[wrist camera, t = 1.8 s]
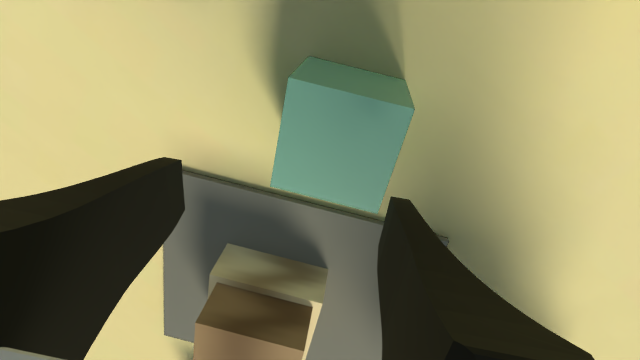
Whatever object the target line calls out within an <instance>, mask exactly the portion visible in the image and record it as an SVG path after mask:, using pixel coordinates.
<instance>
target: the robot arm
mask: <svg viewBox="0 0 640 360" xmlns="http://www.w3.org/2000/svg"><path fill="white" fill-rule="evenodd" d="M184 211H185V201H184V188H183V175H182V162H181V160H177V159H172V158H166V157H163V158H158V159H154V160H151V161H148V162H144V163H141V164H138V165H135V166H132V167H129V168H126V169H123V170H120V171H117V172H114V173H111V174H109V175H105V176H102V177H99V178H96V179H92V180H89V181H86V182H82V183H79V184H76V185H72V186H69V187H65V188H61V189H57V190H53V191H48V192H44V193H40V194H35V195H30V196H25V197H19V198H13V199H7V200H2V201H0V360H84V358H85V356H86V354H87V352H88V351H89V349H90V347H91V345H92V344H93V342H94V340H95V339H96V337H97V335H98V334H99V332H100V330H101V329H102V327H103V325H104V324H105V322H106V320H107V319H108V317H109V316H110V314H111V313H112V311H113V309H114V308H115V306H116V305H117V303H118V302H119V300H120V299H121V297H122V296H123V294H124V293H125V291H126V290H127V288H128V287H129V286H130V284H131V283H132V282H133V280H134V279H135V278H136V277H137V276H138V274H139V273H140V272H141V271H142V269H143V268H144V267H145V266H146V264H147V263H148V262H149V261H150V260H151V258H152V257H153V256H154V255H155V253H156V252H157V251H158V250H159V248H160V247H161V246H162V245H163V243H164V242H165V241H166V240H167V238H168V237H169V236H170V234H171V233H172V232H173V230H174V228H175V227H176V225H177V223H178V222H179V220H180V218H181V216H182V215H183V213H184ZM377 277H378V291H379V303H380V315H381V327H382V360H594V358H593V357H592V355H591V354H589V353H588V352H586V351H584V350H582V349H581V348H579V347H577V346H575V345H574V344H572V343H570V342H569V341H567V340H565V339H563V338H562V337H560V336H558V335H556V334H555V333H553V332H551V331H550V330H548V329H546V328H545V327H543V326H542V325H540V324H539V323H537V322H536V321H534V320H533V319H531V318H530V317H528V316H527V315H525V314H524V313H522V312H521V311H519V310H518V309H516V308H515V307H514V306H512V305H511V304H509V303H508V302H507V301H505V300H504V299H503V298H501V297H500V296H499V295H498V294H496V293H495V292H494V291H493V290H491V289H490V288H489V287H487V286H486V285H485V284H484V283H483V282H482V281H480V280H479V279H478V278H477V277H476V276H475V275H474V274H473V273H471V272H470V271H469V270H468V269H467V268H466V267H465V266H464V265H463V264H462V263H461V262H460V261H459V260H458V259H457V258H456V257H455V256H454V255H453V254H452V253H451V252H450V251H449V249H448V248H447V247H446V246H445V245H444V244H443V243H442V242H441V240H440V239H439V238H438V237H437V236H436V234H435V233H434V232H433V231H432V229H431V228H430V227H429V226H428V224H427V223H426V222H425V220H424V219H423V218H422V216H421V215H420V214H419V212H418V211H417V209H416V208H415V207H414V205H413V204H412V203H411V201H410V200H408V199H402V198H396V197H391V198H390V202H389V206H388V210H387V214H386V217H385V221H384V225H383V229H382V233H381V237H380V241H379V244H378V260H377Z"/></svg>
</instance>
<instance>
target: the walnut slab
mask: <svg viewBox="0 0 640 360" xmlns="http://www.w3.org/2000/svg"><path fill="white" fill-rule="evenodd" d="M312 309H313V307H310V306H306V305H302V304H298V303H295V302H291V301H287V300H283V299H279V298H275V297H272V296H268V295H264V294H260V293H256V292H252V291H249V290H245V289H241V288H237V287H233V286H229V285H226V284H222V283H218V282H217V283H216V285H215V287H214V289H213V291H212V293H211V294H210V296H209V298H208V300H207V302H206V304H205V306H204V307H203V309H202V311H201V313H200V315H199V317H198V318H197V320H196V322H195V336H194V354H193V360H302V357H303V354H304V350H305V345H306V340H307V335H308V330H309V325H310V320H311V314H312Z"/></svg>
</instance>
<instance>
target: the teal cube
mask: <svg viewBox="0 0 640 360" xmlns="http://www.w3.org/2000/svg"><path fill="white" fill-rule="evenodd" d="M414 110H415V108H414V105H413V102H412V99H411V96H410V93H409V90H408V87H407V84H406V81H405V80H403V79H399V78H395V77H391V76H387V75H383V74H379V73H375V72H371V71H367V70H363V69H359V68H355V67H351V66H347V65H343V64H339V63H335V62H331V61H327V60H323V59H319V58H315V57H311V56H309V57H308V58H307V59H306V60H305V61H304V62H303V63H302V64H301V65H300V66H299V67H298V68H297V69H296V70H295V71H294V72H293V73H292V74H291V75H290V76H289V77H288V83H287V89H286V95H285V101H284V107H283V113H282V119H281V125H280V131H279V137H278V143H277V148H276V154H275V160H274V166H273V172H272V178H271V184H270V187H274V188H278V189H282V190H286V191H290V192H294V193H298V194H302V195H306V196H309V197H313V198H317V199H321V200H325V201H329V202H333V203H337V204H341V205H345V206H348V207H352V208H356V209H360V210H364V211H368V212H372V213H376V214H378V211H379V208H380V205H381V202H382V200H383V197H384V194H385V191H386V188H387V186H388V183H389V180H390V177H391V174H392V172H393V169H394V166H395V163H396V160H397V158H398V155H399V152H400V149H401V146H402V144H403V141H404V138H405V135H406V133H407V130H408V127H409V124H410V121H411V119H412V116H413V113H414Z"/></svg>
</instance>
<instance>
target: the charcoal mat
mask: <svg viewBox="0 0 640 360" xmlns="http://www.w3.org/2000/svg"><path fill="white" fill-rule="evenodd" d="M182 175H183V188H184V201H185V211H184V213H183V215H182V216H181V218H180V220H179V222H178V223H177V225H176V227H175V228H174V230H173V232H172V233H171V234H170V236H169V237H168V238H167V240H166V241H165V242H164V335H166V336H170V337H174V338H177V339H181V340H185V341H189V342H193V343H194V336H195V322H196V320H197V318H198V317H199V315H200V313H201V311H202V309H203V307H204V306H205V304H206V302H207V300H208V288H209V275H210V273H211V271H212V269H213V267H214V266H215V264H216V262H217V261H218V259H219V257H220V255H221V254H222V252H223V250H224V249H225V247H226V245H227V243H229V244H233V245H237V246H241V247H245V248H248V249H252V250H256V251H260V252H264V253H268V254H272V255H275V256H279V257H283V258H287V259H291V260H295V261H299V262H303V263H306V264H310V265H314V266H318V267H322V268H326V269H328V275H327V281H326V287H325V293H324V299H323V304H322V308H321V311H320V314H319V317H318V320H317V324H316V327H315V330H314V333H313V337H312V340H311V343H310V346H309V350H308V353H307V356H306V359H305V360H382V327H381V315H380V303H379V291H378V277H377V260H378V244H379V241H380V237H381V233H382V229H383V225H384V222H383V221H379V220H375V219H371V218H367V217H363V216H359V215H356V214H352V213H348V212H344V211H340V210H336V209H332V208H328V207H324V206H320V205H316V204H313V203H309V202H305V201H301V200H297V199H293V198H289V197H285V196H281V195H277V194H273V193H269V192H266V191H262V190H258V189H254V188H250V187H246V186H242V185H238V184H234V183H230V182H226V181H223V180H219V179H215V178H211V177H207V176H203V175H199V174H195V173H191V172H187V171H183V170H182ZM436 236H437V237H438V238H439V239H440V240H441V242H442V243H443V244H444V245H445V246H446V247H447V245H448V243H449V241H448V238H446V237H442V236H438V235H436Z"/></svg>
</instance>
